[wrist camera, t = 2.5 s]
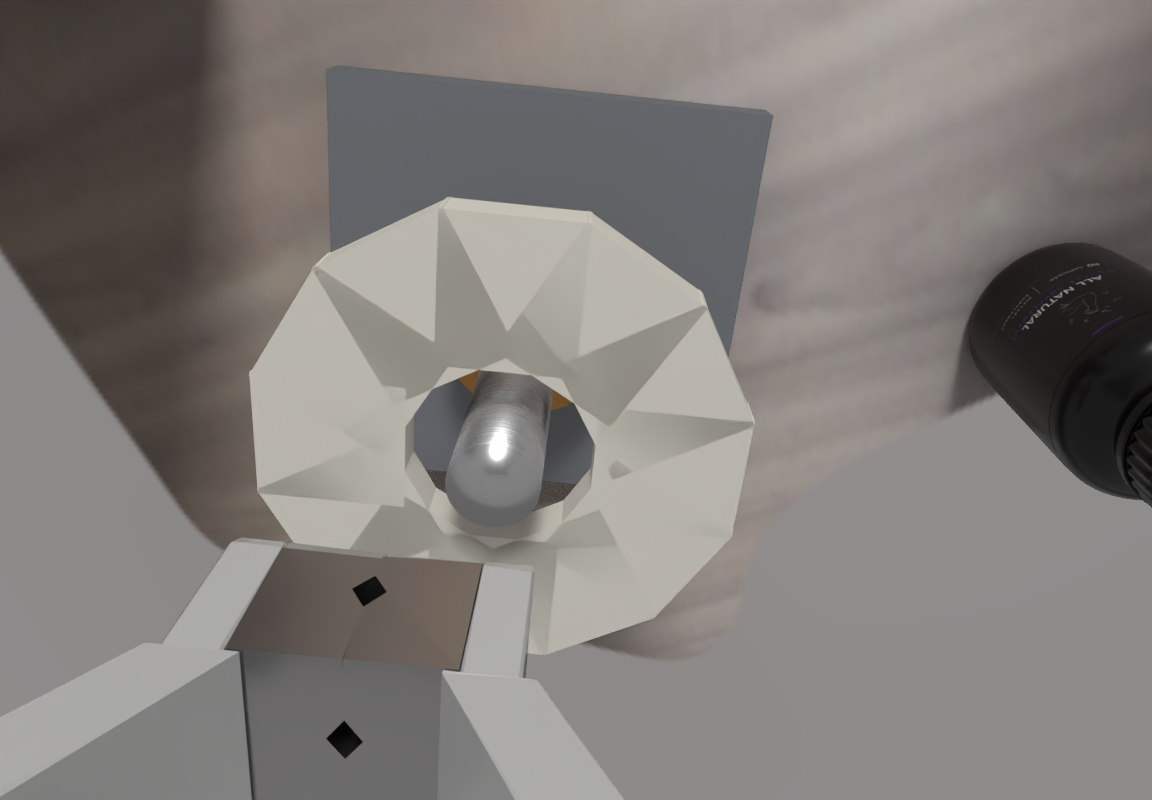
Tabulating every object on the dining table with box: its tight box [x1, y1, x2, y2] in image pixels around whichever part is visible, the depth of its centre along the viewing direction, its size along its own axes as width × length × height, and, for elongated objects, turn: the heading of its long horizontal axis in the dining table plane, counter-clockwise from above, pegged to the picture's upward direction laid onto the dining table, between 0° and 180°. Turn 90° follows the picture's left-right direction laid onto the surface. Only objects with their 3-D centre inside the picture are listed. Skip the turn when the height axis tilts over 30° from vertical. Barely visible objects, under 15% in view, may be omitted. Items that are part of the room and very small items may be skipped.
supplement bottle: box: [970, 243, 1152, 507], centre depth 30 cm, size 7×7×12 cm
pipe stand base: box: [326, 66, 773, 485], centre depth 35 cm, size 16×16×2 cm
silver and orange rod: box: [445, 370, 573, 527], centre depth 28 cm, size 6×6×14 cm
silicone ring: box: [249, 197, 755, 656], centre depth 24 cm, size 13×13×1 cm
